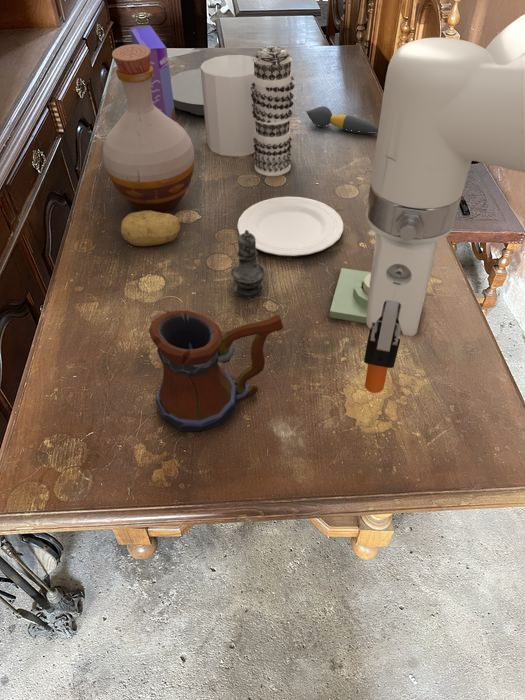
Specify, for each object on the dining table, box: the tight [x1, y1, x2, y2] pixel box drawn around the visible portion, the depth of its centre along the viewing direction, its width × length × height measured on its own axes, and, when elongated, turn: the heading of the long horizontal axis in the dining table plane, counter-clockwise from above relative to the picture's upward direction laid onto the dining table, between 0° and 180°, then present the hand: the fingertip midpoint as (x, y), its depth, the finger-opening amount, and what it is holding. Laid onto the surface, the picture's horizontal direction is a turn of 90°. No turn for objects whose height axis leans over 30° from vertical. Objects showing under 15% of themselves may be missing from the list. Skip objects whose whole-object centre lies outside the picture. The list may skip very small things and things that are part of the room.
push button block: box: [328, 267, 371, 324], centre depth 91 cm, size 14×12×3 cm
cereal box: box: [129, 24, 177, 123], centre depth 127 cm, size 17×5×24 cm, turn 20°
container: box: [199, 54, 256, 157], centre depth 129 cm, size 14×14×18 cm
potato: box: [120, 210, 181, 247], centre depth 103 cm, size 7×11×6 cm, turn 94°
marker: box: [364, 325, 395, 394], centre depth 59 cm, size 2×2×11 cm
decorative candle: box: [251, 45, 295, 177], centre depth 117 cm, size 9×9×25 cm
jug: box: [102, 43, 195, 214], centre depth 105 cm, size 20×18×30 cm
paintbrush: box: [306, 105, 379, 135], centre depth 138 cm, size 20×5×5 cm, turn 71°
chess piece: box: [230, 230, 266, 299], centre depth 91 cm, size 6×6×12 cm
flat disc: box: [170, 67, 205, 116], centre depth 152 cm, size 28×28×4 cm
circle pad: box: [363, 273, 371, 295], centre depth 90 cm, size 5×5×2 cm
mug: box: [148, 310, 284, 432], centre depth 72 cm, size 18×12×15 cm, turn 99°
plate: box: [236, 196, 344, 258], centre depth 107 cm, size 21×21×2 cm
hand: (380, 353), depth 59 cm, fingers closed on marker, 2 cm apart
